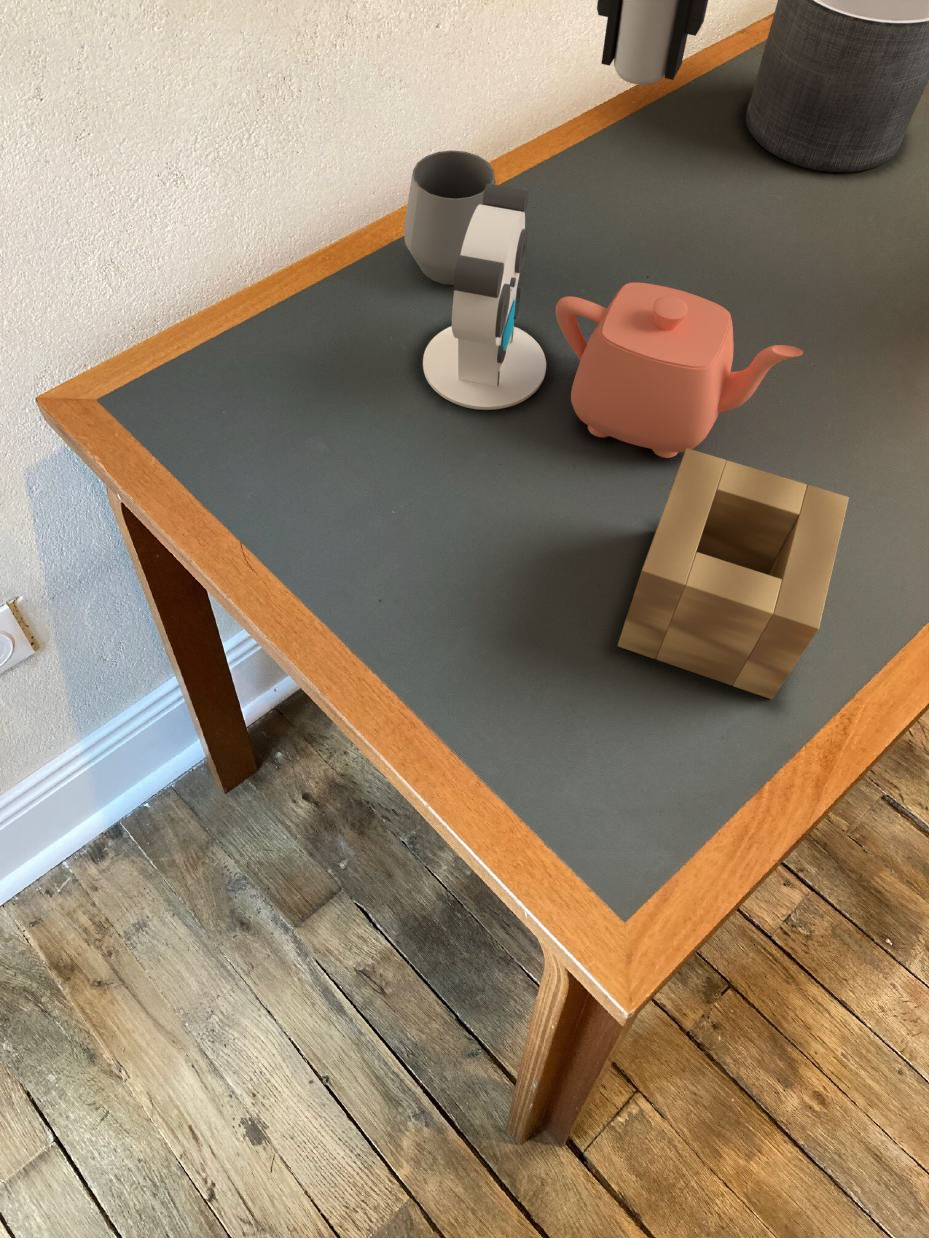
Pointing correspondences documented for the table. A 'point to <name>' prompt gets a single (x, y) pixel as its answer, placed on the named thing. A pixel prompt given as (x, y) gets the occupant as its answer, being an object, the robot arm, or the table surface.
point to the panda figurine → (488, 313)
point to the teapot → (658, 366)
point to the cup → (443, 209)
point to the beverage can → (644, 39)
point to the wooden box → (735, 574)
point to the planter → (840, 81)
